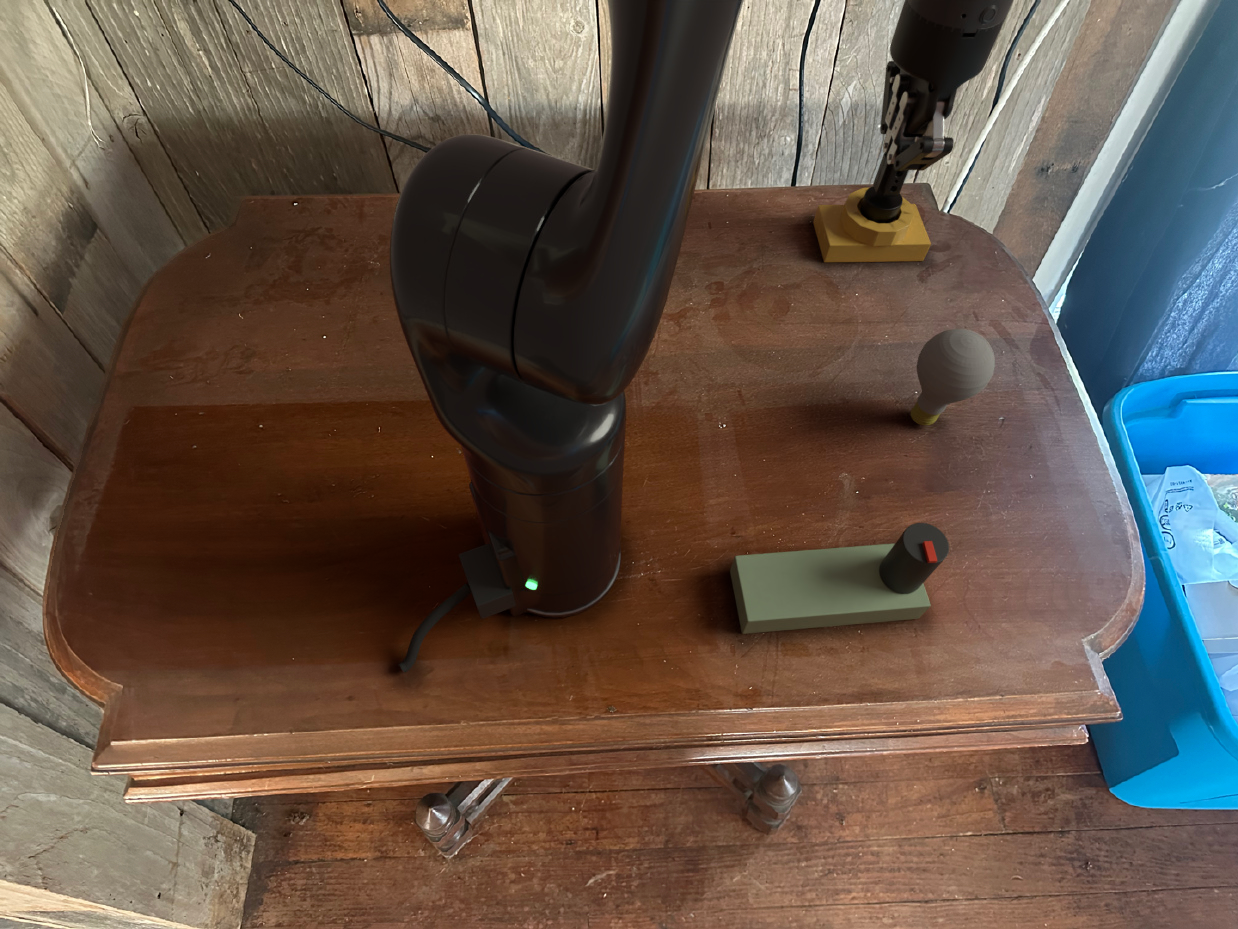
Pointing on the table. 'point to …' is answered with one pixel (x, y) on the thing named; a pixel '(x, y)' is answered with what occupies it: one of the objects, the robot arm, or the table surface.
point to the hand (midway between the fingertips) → (885, 192)
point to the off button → (880, 207)
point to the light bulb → (951, 371)
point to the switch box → (869, 233)
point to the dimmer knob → (913, 558)
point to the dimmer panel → (818, 590)
